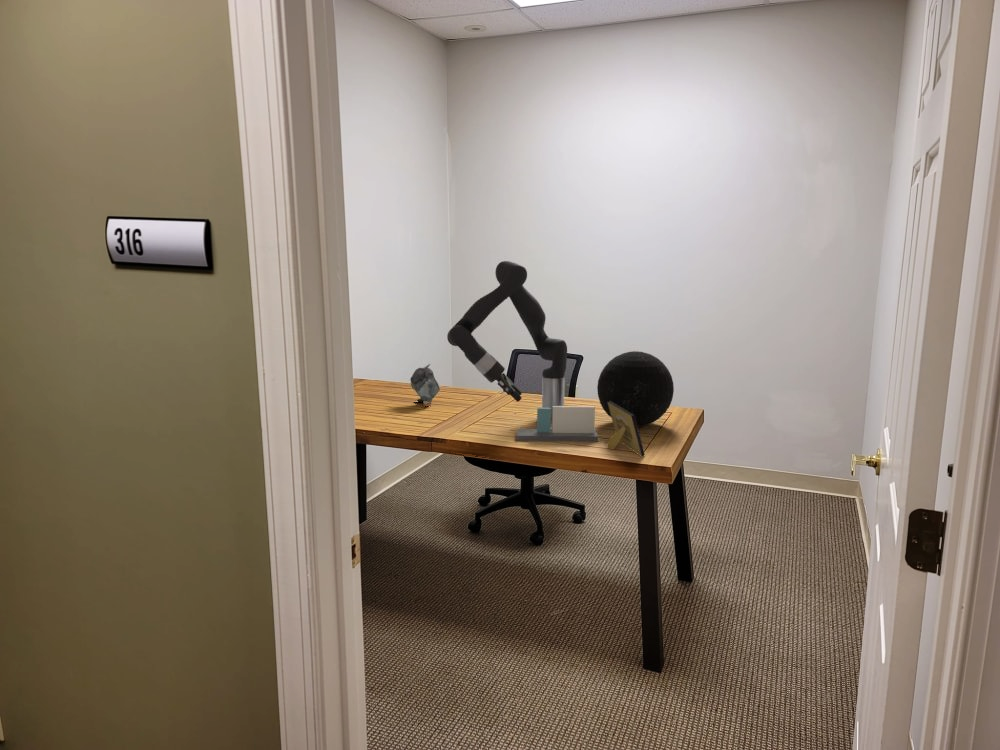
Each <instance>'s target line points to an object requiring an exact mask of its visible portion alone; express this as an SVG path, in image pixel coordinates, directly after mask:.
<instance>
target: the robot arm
mask: <svg viewBox="0 0 1000 750" xmlns="http://www.w3.org/2000/svg"><path fill="white" fill-rule="evenodd" d="M494 274H495V278H496V281H497V282H498V284H499V286H497V287H496V288H495V289H493V290H492V291H490V292H489V293H487V294H485V295H483V296H481V297H479V299H477V300H476V301H475V302H474V303H473V304H472V305H471V306H470V307H469V308H468V310H467V311H466V312H465V313H464V314H463V315H462V316H461V318H460V319H459V321H457V322H456V324H454V325H453V327H452V328H450V330H449V331H448V333H447V335H446V336H447V341H448V343H449V344H450V345H451V346H454V347H457V348H459V349H460V350H461V351H462V352H463V353H464V356H465V358H466V359H467V360H468V361H469V362H470V363H471V364H472V365H473V366H474V367H475V368H476V370H477V371H478V373H479V372H480V374H481V375H482V376H483V377H484V378H485V379H487V381H488V382H489V383H491V384H492V383H493V382H495V381H497V385H498V386H499V387H500V388H501V389H502V390H503V391H504V392H505V393H506V394H507V395H508V396H511V397H512V398H513V400H515V401H516V402H517V403H518V402H520V401H521V400H522V396H521V395H522V391H521V390H520V389H519V388H517V386H516V384H515V383H514V381H512V380H511V378H509V377H508V376H507V375H506V373H504V371H505V370H506V369H505V368H506V367H504V366H503V365H502V364H501V363H500V362H499V361H498V360H497V358H495V356H493V355H492V354H491V353H489V352H488V351H487V349H485V348H484V347H483V346H482V345H481V344H480V343H479V342H478V341H477V339H476V337H474V336H473V334H472V333H474V331H475V330H476V329H477V328H479V327H480V326H481V325H482V323H484V321H485V320H486V319H487V318H488V317H489V316H490V314H491V313H492V312H494V310H495V309H496V308H498V307H499V306H500V305H501V304H502V303H503V302H504V301H505V300H508V298H509V299H510V301H511V302H512V304H513V306H514V308H515V310H516V311H517V313H518V315H519V317H520V319H521V321H522V323H523V324H524V326H525V327H526V329H527V331H528V333H529V335H530V337H531V338H532V341H533V343H534V345H535V348H536V351H537V353H538V355H539V356H540V357H541V359H543V360H545V361H549V362H550V361H551V366H550V367H549V368H545V369H543V370H542V374H541V375H542V376H541V377H542V385H541V387H542V388H541V389H542V390H541V391H542V393H541V395H542V396H541V408H551V420H552V406H565V378H566V377H565V375H566V374H565V373H566V371H567V361H568V359H567V358H568V345H567V343H566V341H565V340H564V339H560V338H551V337H549V336H548V335H547V333H546V331H545V329H544V328H545V324H546V313H545V311H544V309H543V308H542V305H541V304H540V302H539V301H538V300H537V298H536V297H535V296H533V294H531V292H530V291H528V289H527V288H526V287H525V286H524V284H525V283H526V281H527V278H528V271H527V269H526V268H525V266H523V265H521V264H519V263H516V262H513V261H509V260H506V261H505V260H503V261H500V262H499V263H498V264H497V265H496V268H495V273H494Z"/></svg>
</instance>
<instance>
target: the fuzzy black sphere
mask: <svg viewBox="0 0 1000 750" xmlns="http://www.w3.org/2000/svg"><path fill="white" fill-rule="evenodd" d="M596 387H597V398H598V400H599V404H600V406H601V407H602V409H603V411H604V412H605V413H606V415H608V416H609V417H610V418H611V419H612V417H611V413H610V410H609V406H608V402H609V401H611V402H613V403H615V404H616V405H618V406H620V407H621V408H623V409H625V410H627V411H628V412H630V413H632V414H633V415H635V418H636V422H637V426H638V427H644V426H648V425H650V424H653V423H655V422H657V421H658V420H659V419H660V418H662V417H663V415H665V414H666V412H668V409H669V408H670V406H671V403H672V401H673V397H674V392H675V390H674V380H673V377H672V374H671V373H670V371H669V368H668V367H667V366H666V365H665V363H664V362H663V361H662V360H661V359H659V358H658V357H656V356H654V355H652V354H650V353H648V352H643V351H636V350H633V351H632V350H631V351H628V352H624V353H621V354H619V355H616V356H615V357H613V358H612V359H611V360H609V361H608V362H607V364H606V365H605V366H604V367H603V368H602V370H601V372H600V374H599V377H598V380H597V386H596Z"/></svg>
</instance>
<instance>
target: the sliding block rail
mask: <svg viewBox="0 0 1000 750" xmlns="http://www.w3.org/2000/svg"><path fill="white" fill-rule="evenodd" d="M595 421H596V407H595V406H592V405H590V406H589V405H587V406H586V405H584V406H583V405H582V406H578V405H575V406H573V405H571V406H570V405H568V406H566V405H564V406H552V419H551V429H550V432H537V428H516V441H517V442H521V441H522V442H591V443H593V442H599V434H598V433H597V430H596V429H595V423H596V422H595Z"/></svg>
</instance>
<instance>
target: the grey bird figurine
mask: <svg viewBox="0 0 1000 750" xmlns="http://www.w3.org/2000/svg"><path fill="white" fill-rule="evenodd" d="M430 365H431V363H429V364H427V365H426V366H424V367H418V368H416V369H415V370H414V372H413V374H412V376H410V379H409V380H410V386H411V388H412V389H413V391H415V392H416V394H417V396H418V397H420V398H418V399H416V400H417V401H418V402H423V403H422V405H423V406H430V407H431V406H432V404H431V403H432V401H433V399H434V398H435V397H436V396H437V394H438V393H439V391H440V390H441V389H440V385H439V383H438V381H437V380H436V378H435V376H434V371H433V370H432V369H431V368H430Z"/></svg>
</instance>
